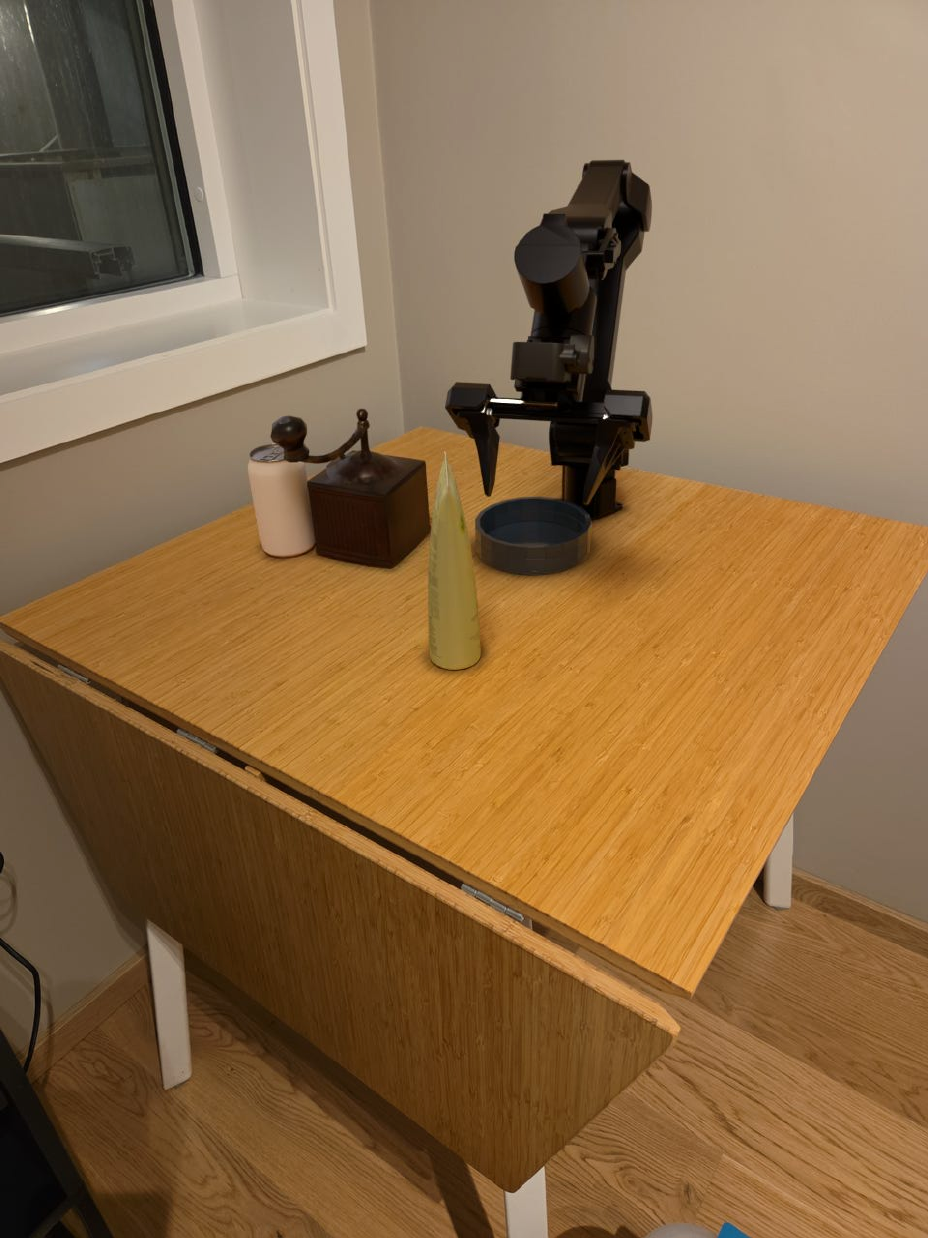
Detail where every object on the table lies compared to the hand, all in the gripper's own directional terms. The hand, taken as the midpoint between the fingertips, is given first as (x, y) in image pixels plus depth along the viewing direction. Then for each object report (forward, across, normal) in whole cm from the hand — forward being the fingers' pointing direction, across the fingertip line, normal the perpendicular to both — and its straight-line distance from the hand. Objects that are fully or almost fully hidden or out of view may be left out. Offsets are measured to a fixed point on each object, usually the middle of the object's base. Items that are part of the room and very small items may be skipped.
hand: (535, 499), depth 83 cm
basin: (-1, -4, +22) cm, 22 cm away
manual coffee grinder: (+3, -24, +18) cm, 30 cm away
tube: (+15, -6, +4) cm, 17 cm away
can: (+3, -33, +18) cm, 37 cm away
